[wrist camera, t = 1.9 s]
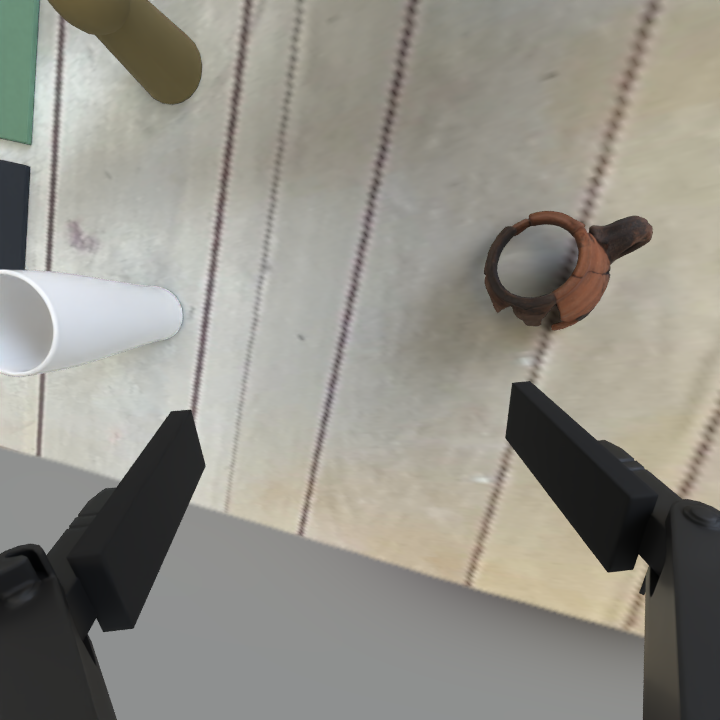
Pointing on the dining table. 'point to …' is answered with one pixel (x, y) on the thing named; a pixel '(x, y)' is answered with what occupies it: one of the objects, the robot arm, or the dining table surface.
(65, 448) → the dining table surface
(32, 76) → the sage mat
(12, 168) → the slate mat
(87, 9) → the olive game pawn
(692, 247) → the dining table surface
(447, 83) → the dining table surface
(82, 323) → the drinking glass
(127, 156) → the dining table surface
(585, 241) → the brown notched ring
